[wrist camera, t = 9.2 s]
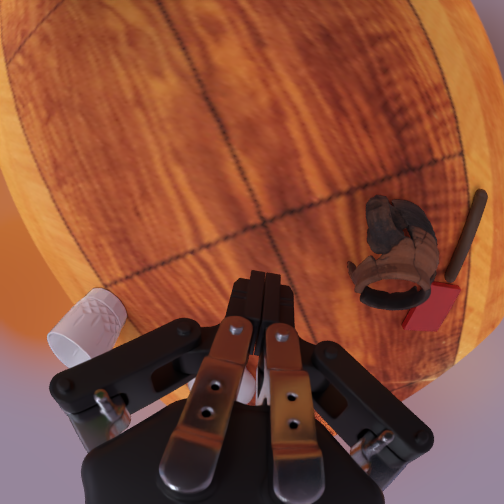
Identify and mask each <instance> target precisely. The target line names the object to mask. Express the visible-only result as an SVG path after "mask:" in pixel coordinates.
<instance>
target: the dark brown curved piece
mask: <svg viewBox="0 0 504 504" xmlns="http://www.w3.org/2000/svg"><path fill="white" fill-rule="evenodd" d="M392 205H393V206H392ZM392 205H390V204H389V201H388V199H387V197H386V196H381V195H375V196H374V197H372V198H370V199H369V201H368V202H367V204H366V219H367V224H368V227H369V228H368V230H367V242H368V244H369V246H370V248H371V250H372V251H373V252H374V253H376V254H382V255H381V257H380V258H378V259H377V260H375V258H374V257H373V256H371V255H370V256H368V257H367V258H366V259H365V260H364V261H363V262H362V263H361V264H359V265H358V267H357V268H356V266H355V265H354V264H353V263H352V262H350V261H348V265H347V268H348V273H349V275H350V277H351V279H352V281H353V283H354V284H355V292H356V293H361V295H360V301H361V302H362V303H364V304H366V305H368V306H370V307H374V308H377V309H386V310H405V309H410V308H414V307H417V306H419V305H421V304H423V303H424V302H425V301H427V300H428V298H429V297H430V295H431V284H432V283H433V281H434V279H435V276H436V269H437V266H438V264H439V251H438V248H437V245H438V244H437V239H436V237H435V232H434V231H433V227H432V225H431V223H430V221H429V220H428V219H427V217H426V215H425V213H424V211H423V210H422V209H421V208H420V207H419V206H417V205H416V204H414V203H412V202H409V201H406V200H399V199H398V200H397V199H394V200H392ZM405 228H407V230H408V232H409V235H410V237H411V238H409V237H407V236H404V232H403V231H402V230H403V229H405ZM382 279H402V280H408V281H412V282H414V283H417V284H418V285H420V286H421V287H422V289H421V290H420V291H417V287H416V286H414V287H412V288H411V289H410V290H409V291H406V292H395V293H391V294H389V293H388V292H385V291H379V290H375V289H371V288H370V287H368V286H367V285H369V284H371V283H373V282H376V281H379V280H382Z"/></svg>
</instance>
